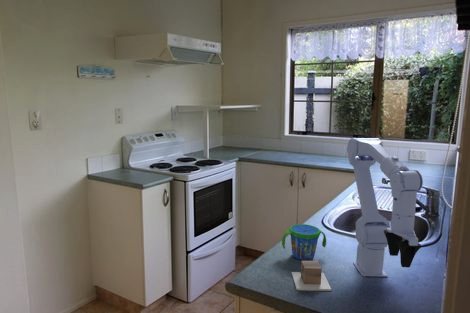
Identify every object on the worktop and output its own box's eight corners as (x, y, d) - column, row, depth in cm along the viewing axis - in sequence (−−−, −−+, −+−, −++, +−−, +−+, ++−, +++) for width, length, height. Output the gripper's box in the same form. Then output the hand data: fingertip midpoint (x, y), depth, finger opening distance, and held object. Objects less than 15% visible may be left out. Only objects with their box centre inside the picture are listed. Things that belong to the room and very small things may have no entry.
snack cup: (321, 250, 134) (322, 223, 133) (329, 263, 124) (331, 234, 122) (278, 250, 134) (279, 223, 132) (283, 263, 123) (285, 234, 122)
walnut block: (300, 275, 113) (301, 260, 113) (316, 276, 114) (317, 260, 113) (303, 284, 108) (304, 268, 108) (320, 284, 109) (321, 268, 108)
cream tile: (291, 273, 116) (291, 271, 116) (323, 274, 116) (323, 272, 116) (296, 290, 106) (296, 288, 106) (331, 290, 106) (331, 289, 106)
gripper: (378, 206, 108) (375, 250, 110) (400, 221, 94) (396, 272, 96) (402, 206, 108) (399, 250, 110) (428, 222, 94) (423, 272, 96)
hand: (399, 260), depth 103 cm, fingers open, 7 cm apart
